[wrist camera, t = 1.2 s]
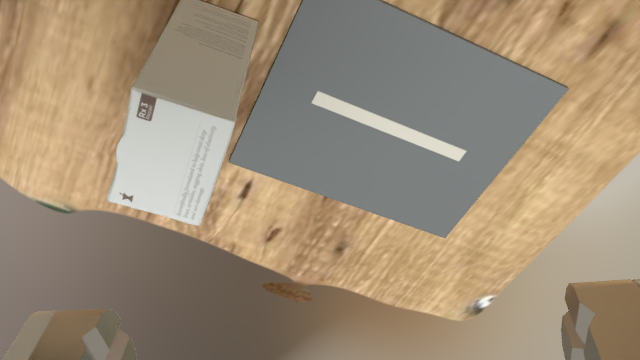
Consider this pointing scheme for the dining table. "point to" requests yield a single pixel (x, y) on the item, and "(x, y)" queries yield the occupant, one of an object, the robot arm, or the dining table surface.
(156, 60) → the skincare box
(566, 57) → the dining table surface
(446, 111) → the mat
